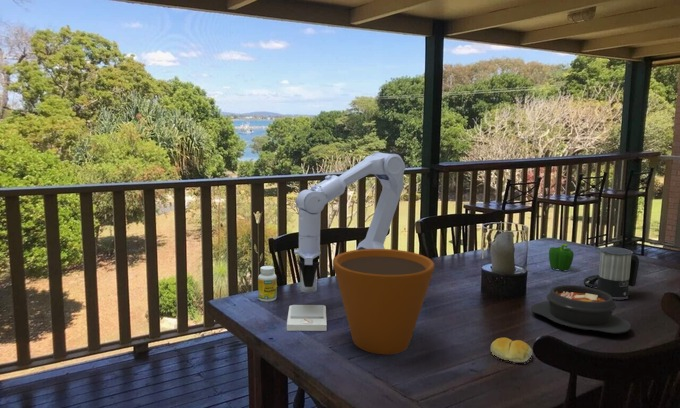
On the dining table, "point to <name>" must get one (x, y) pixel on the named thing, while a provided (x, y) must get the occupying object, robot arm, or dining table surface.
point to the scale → (306, 318)
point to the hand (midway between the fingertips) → (308, 283)
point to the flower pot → (382, 296)
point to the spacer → (308, 289)
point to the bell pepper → (561, 257)
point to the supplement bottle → (267, 284)
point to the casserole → (581, 309)
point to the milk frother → (615, 271)
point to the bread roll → (511, 350)
